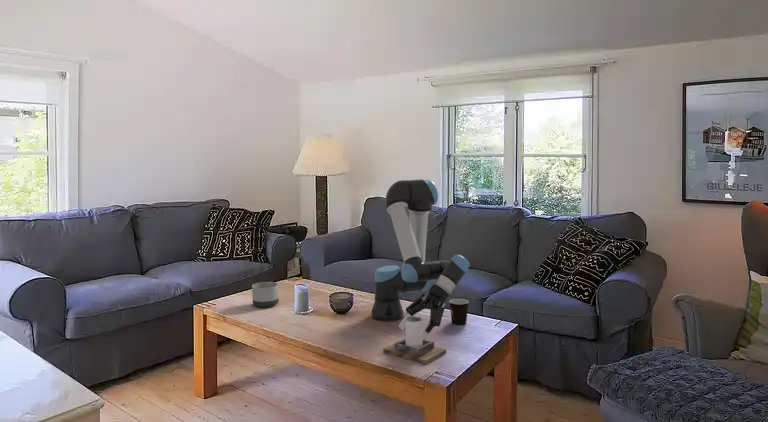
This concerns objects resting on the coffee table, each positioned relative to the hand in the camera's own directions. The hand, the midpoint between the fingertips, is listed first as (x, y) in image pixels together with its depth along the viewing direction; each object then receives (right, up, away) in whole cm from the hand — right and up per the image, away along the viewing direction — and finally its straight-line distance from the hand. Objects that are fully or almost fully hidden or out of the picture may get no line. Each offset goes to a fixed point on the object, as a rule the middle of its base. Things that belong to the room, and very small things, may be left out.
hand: (410, 333), depth 212 cm
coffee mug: (+24, -3, +38) cm, 45 cm away
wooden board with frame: (+2, -8, +2) cm, 8 cm away
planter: (-70, -1, +67) cm, 97 cm away
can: (+2, -7, +2) cm, 7 cm away
